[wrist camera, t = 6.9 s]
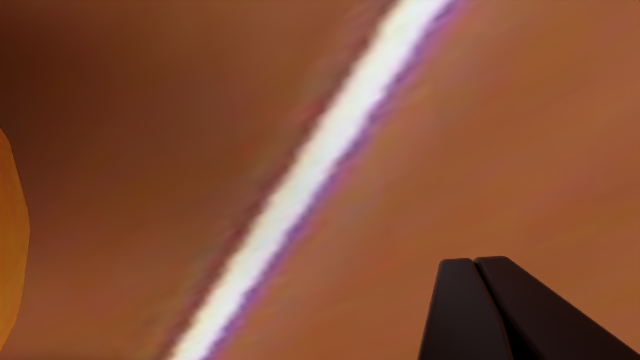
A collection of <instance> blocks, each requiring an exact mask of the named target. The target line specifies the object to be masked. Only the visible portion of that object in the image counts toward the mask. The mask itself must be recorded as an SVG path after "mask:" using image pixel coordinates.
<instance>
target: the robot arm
mask: <svg viewBox="0 0 640 360" xmlns="http://www.w3.org/2000/svg"><path fill="white" fill-rule="evenodd" d="M417 360H640V354H638V353H637V352H636V351H634V350H633V349H632V348H630V347H629V346H627V345H626V344H625V343H623V342H622V341H621V340H619V339H618V338H617V337H615V336H614V335H612V334H611V333H610V332H608V331H607V330H606V329H604V328H603V327H602V326H600V325H599V324H597V323H596V322H595V321H593V320H592V319H591V318H589V317H588V316H587V315H585V314H584V313H582V312H581V311H580V310H578V309H577V308H576V307H574V306H573V305H572V304H570V303H569V302H567V301H566V300H565V299H563V298H562V297H561V296H559V295H558V294H557V293H555V292H554V291H553V290H551V289H550V288H548V287H547V286H546V285H544V284H543V283H542V282H540V281H539V280H538V279H536V278H535V277H533V276H532V275H531V274H529V273H528V272H527V271H525V270H524V269H523V268H521V267H520V266H518V265H517V264H516V263H514V262H513V261H512V260H510V259H509V258H507V257H505V256H492V257H478V258H476V259H474V260H473V261H472V260H471V259H469V258H459V259H444V260H442V261H441V262H440V264H439V268H438V272H437V276H436V281H435V285H434V289H433V294H432V298H431V302H430V306H429V311H428V315H427V319H426V324H425V328H424V332H423V337H422V341H421V345H420V350H419V354H418V358H417Z"/></svg>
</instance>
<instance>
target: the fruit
mask: <svg viewBox="0 0 640 360" xmlns="http://www.w3.org/2000/svg"><path fill="white" fill-rule="evenodd" d="M29 237H30V224H29V216H28V209H27V205H26V202H25V198H24V194H23V191H22V187H21V183H20V179H19V176H18V172H17V168H16V165H15V161H14V157H13V153H12V150H11V146H10V142H9V140H8V139H7V137H6V136H5V134H4V133H3V131H2V129H1V128H0V351H1V349H2V347H3V345H4V343H5V341H6V339H7V337H8V335H9V333H10V331H11V330H12V328H13V326H14V324H15V322H16V318H17V314H18V310H19V306H20V302H21V298H22V294H23V287H24V278H25V270H26V262H27V254H28V246H29Z"/></svg>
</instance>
